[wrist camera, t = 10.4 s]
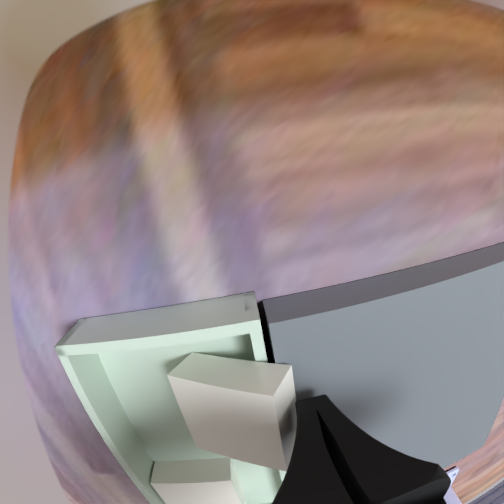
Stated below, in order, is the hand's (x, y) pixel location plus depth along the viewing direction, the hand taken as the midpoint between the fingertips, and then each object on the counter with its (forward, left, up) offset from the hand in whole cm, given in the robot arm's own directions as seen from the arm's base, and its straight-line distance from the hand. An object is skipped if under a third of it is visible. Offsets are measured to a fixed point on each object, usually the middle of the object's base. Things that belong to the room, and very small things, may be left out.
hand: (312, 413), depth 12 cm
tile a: (-8, +7, -1) cm, 11 cm away
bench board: (-4, -7, -3) cm, 9 cm away
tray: (-4, +6, -3) cm, 8 cm away
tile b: (0, +3, -2) cm, 3 cm away
